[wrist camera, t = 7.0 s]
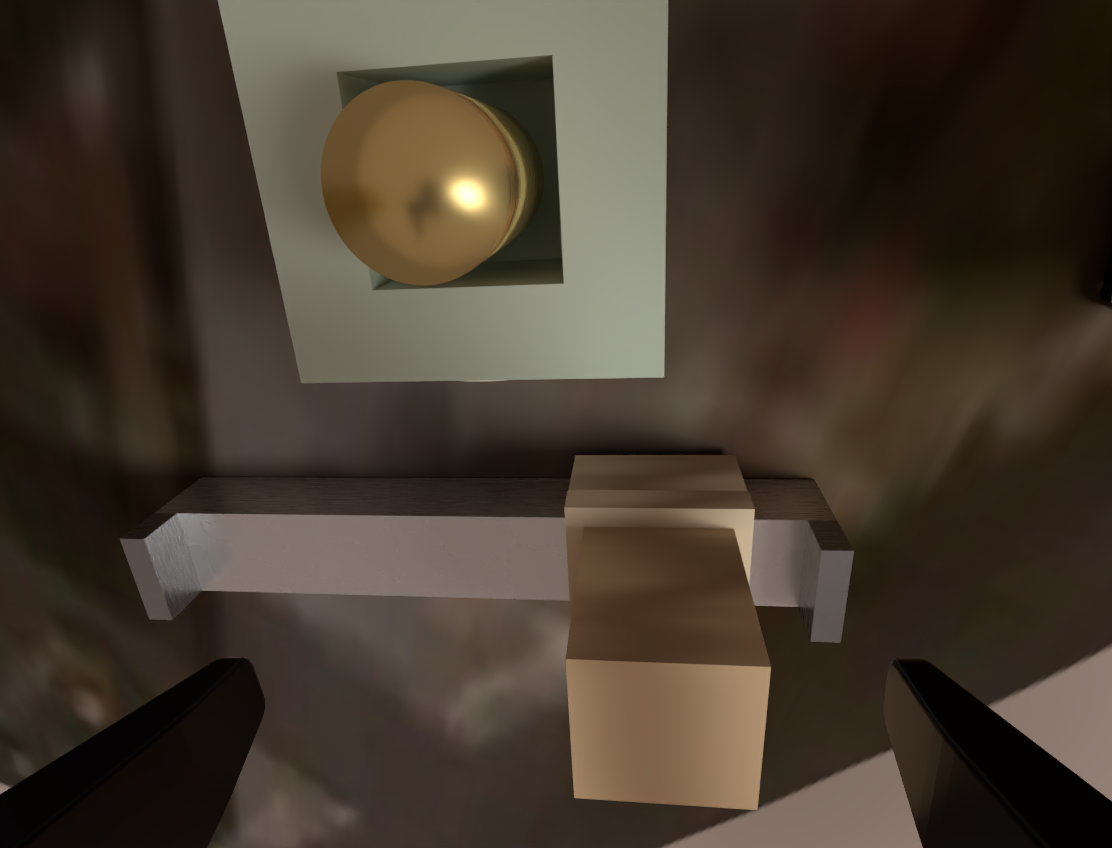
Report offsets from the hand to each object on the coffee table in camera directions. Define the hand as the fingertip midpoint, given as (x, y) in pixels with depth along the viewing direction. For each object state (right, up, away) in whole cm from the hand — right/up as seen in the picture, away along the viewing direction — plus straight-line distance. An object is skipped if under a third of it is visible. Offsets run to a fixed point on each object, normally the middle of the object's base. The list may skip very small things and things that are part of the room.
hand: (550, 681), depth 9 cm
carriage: (+3, 0, +12) cm, 13 cm away
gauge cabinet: (-1, +11, +9) cm, 14 cm away
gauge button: (-2, +9, +5) cm, 10 cm away
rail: (-2, 0, +13) cm, 13 cm away
